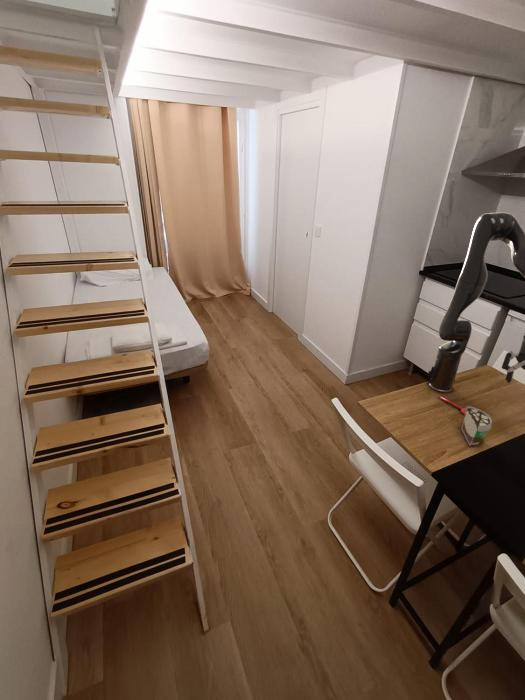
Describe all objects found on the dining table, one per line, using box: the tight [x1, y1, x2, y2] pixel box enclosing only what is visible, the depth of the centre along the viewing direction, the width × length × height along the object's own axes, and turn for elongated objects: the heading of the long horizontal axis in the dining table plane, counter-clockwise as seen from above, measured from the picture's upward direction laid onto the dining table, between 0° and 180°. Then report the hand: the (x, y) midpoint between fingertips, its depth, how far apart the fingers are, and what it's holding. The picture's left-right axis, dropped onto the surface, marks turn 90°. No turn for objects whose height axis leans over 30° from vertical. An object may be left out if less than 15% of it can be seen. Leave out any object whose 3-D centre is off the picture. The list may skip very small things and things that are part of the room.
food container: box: [461, 405, 493, 447], centre depth 120 cm, size 12×6×10 cm, turn 168°
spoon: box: [439, 396, 467, 416], centre depth 139 cm, size 14×4×1 cm, turn 29°
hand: (524, 386), depth 110 cm, fingers open, 8 cm apart
